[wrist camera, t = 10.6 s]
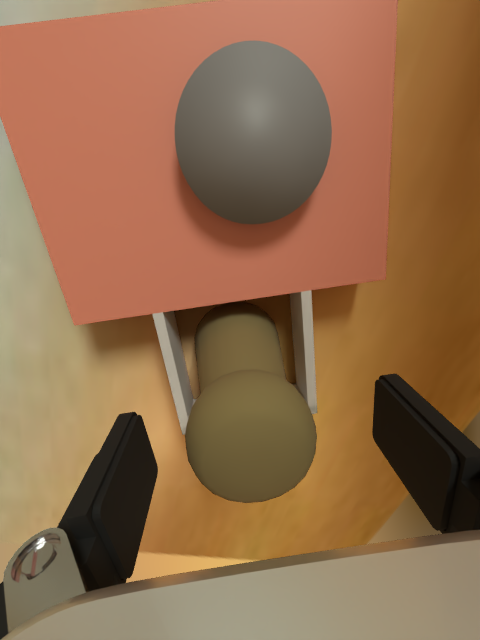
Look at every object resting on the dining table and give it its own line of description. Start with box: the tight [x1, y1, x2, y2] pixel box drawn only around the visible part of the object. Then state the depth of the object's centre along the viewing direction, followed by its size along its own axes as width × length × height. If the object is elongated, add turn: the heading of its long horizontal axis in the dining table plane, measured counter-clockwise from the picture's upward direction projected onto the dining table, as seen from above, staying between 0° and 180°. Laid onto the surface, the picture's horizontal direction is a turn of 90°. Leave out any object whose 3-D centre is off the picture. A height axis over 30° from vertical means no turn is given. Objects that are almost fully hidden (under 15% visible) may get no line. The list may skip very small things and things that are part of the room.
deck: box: [0, 0, 398, 435], centre depth 16 cm, size 18×22×4 cm
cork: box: [185, 302, 317, 503], centre depth 15 cm, size 6×6×11 cm
